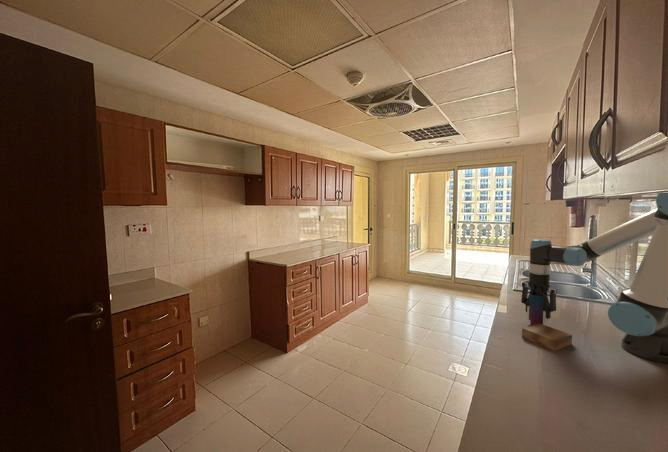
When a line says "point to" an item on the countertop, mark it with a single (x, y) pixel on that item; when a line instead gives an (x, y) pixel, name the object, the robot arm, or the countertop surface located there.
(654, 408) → the countertop surface
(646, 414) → the countertop surface
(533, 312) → the cup
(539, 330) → the base block
